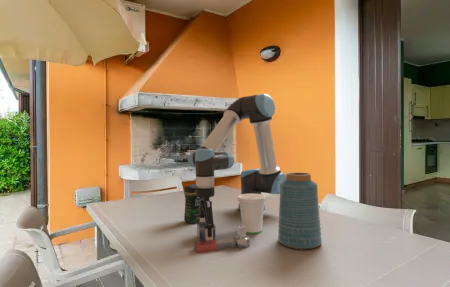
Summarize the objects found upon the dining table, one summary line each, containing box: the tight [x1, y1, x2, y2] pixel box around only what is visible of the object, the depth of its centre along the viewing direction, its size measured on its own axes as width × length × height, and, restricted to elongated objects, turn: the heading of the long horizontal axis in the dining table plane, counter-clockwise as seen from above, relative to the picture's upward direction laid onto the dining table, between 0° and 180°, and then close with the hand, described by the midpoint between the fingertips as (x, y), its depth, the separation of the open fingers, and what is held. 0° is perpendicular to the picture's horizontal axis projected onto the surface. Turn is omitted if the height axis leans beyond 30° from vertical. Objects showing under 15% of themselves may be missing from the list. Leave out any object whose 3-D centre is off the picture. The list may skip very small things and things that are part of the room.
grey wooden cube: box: [196, 222, 217, 242], centre depth 110 cm, size 6×6×6 cm
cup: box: [237, 193, 267, 235], centre depth 120 cm, size 12×12×15 cm
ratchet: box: [193, 225, 251, 254], centre depth 102 cm, size 21×6×7 cm, turn 104°
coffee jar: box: [183, 183, 200, 224], centre depth 136 cm, size 10×8×19 cm
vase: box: [277, 171, 323, 251], centre depth 105 cm, size 16×16×27 cm
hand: (206, 238), depth 110 cm, fingers open, 13 cm apart
